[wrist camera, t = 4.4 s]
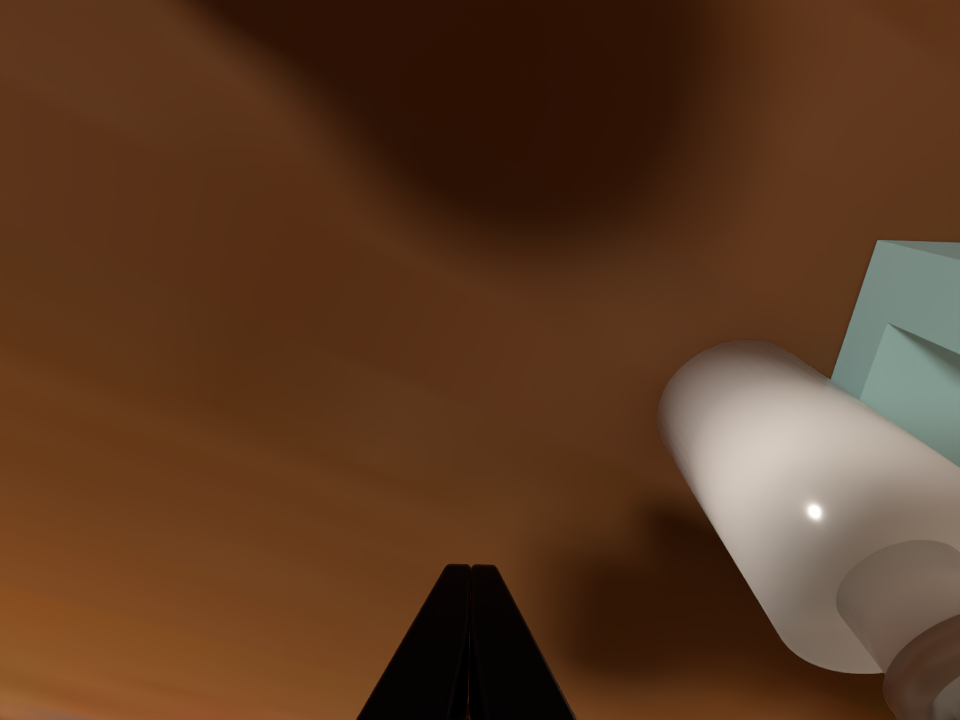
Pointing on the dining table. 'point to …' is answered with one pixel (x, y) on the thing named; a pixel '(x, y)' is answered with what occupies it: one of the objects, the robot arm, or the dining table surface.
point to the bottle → (826, 517)
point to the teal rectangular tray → (909, 341)
